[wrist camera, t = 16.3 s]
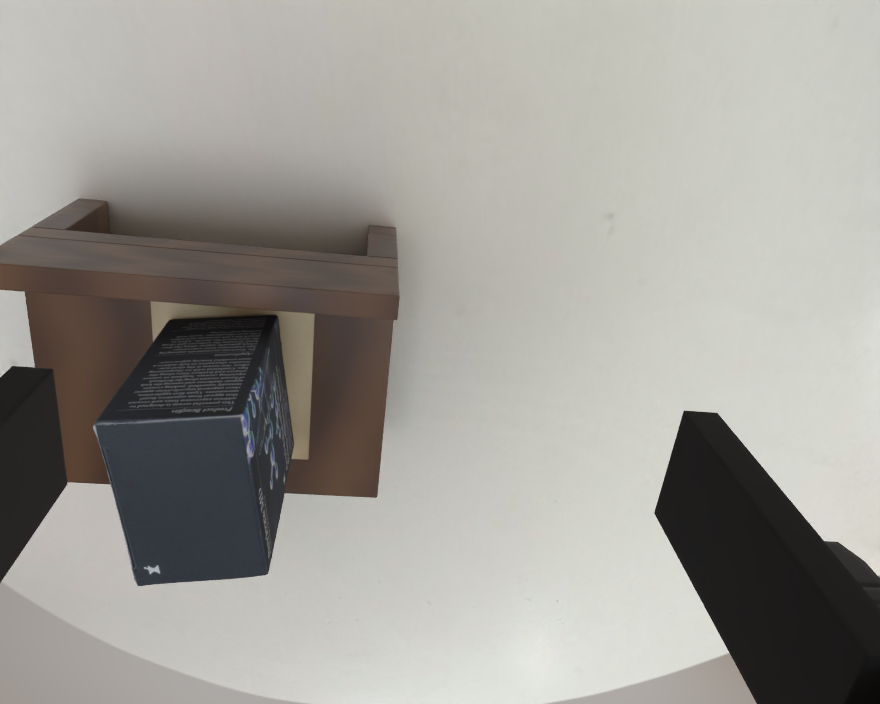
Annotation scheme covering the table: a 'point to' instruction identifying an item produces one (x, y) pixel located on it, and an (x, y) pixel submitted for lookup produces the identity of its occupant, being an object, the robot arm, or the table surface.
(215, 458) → the box
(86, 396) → the shelf
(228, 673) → the table surface
